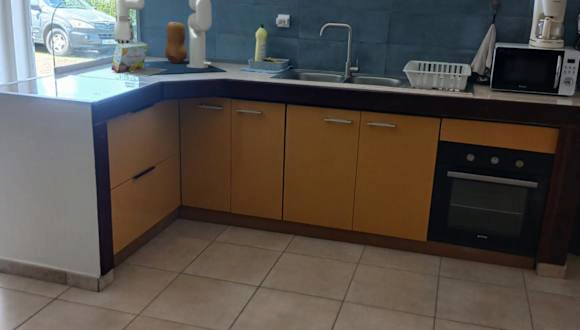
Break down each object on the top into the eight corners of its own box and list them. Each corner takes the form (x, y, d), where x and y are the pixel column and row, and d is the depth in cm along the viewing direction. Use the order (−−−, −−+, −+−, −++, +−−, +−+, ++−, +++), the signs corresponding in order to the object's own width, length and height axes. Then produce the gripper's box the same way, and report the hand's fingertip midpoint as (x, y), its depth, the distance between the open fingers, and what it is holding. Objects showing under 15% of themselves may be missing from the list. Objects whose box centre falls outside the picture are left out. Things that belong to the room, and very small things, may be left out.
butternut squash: (190, 62, 380) (189, 21, 372) (183, 65, 367) (183, 23, 360) (168, 60, 382) (168, 20, 374) (161, 63, 369) (160, 22, 361)
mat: (167, 70, 346) (167, 69, 346) (148, 76, 324) (148, 75, 323) (145, 68, 349) (145, 67, 349) (124, 74, 327) (124, 73, 327)
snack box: (118, 73, 329) (123, 47, 323) (110, 69, 330) (115, 43, 324) (143, 69, 347) (148, 44, 341) (135, 65, 349) (140, 40, 343)
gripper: (138, 19, 332) (139, 52, 338) (114, 18, 336) (115, 51, 341) (131, 20, 326) (133, 54, 331) (107, 18, 329) (108, 52, 335)
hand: (124, 52), depth 336 cm, fingers closed
